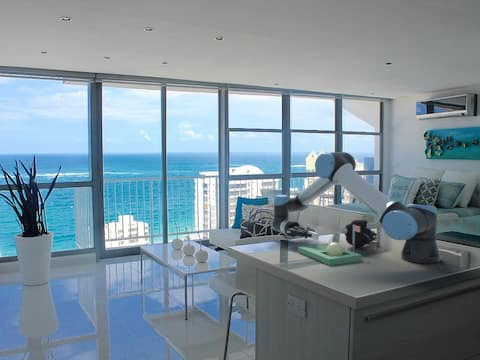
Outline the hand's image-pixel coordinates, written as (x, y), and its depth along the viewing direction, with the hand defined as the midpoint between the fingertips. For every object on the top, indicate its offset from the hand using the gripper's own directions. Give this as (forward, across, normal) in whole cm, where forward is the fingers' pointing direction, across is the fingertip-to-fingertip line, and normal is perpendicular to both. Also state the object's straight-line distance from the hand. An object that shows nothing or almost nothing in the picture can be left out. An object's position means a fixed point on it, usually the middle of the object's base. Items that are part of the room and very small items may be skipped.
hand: (317, 236), depth 188 cm
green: (+8, 0, -7) cm, 11 cm away
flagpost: (+15, -10, -7) cm, 19 cm away
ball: (+13, 0, -4) cm, 13 cm away
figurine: (-1, -24, -8) cm, 25 cm away
